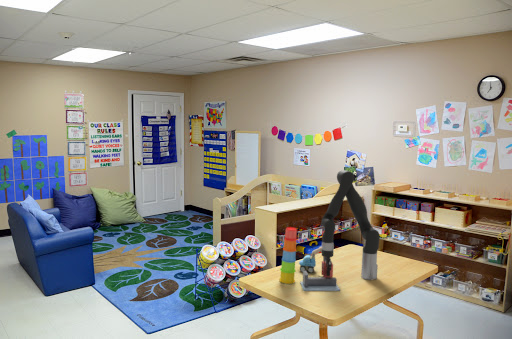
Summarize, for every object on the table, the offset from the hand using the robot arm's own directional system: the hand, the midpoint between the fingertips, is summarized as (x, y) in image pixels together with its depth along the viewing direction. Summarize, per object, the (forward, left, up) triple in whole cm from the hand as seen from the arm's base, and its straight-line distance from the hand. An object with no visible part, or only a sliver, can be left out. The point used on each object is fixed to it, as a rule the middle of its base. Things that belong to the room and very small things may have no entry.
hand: (327, 273), depth 258 cm
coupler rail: (+7, +13, -4) cm, 15 cm away
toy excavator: (+7, -15, -4) cm, 17 cm away
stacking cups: (+26, +4, -4) cm, 27 cm away
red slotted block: (0, 0, -2) cm, 2 cm away
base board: (+7, +13, -4) cm, 15 cm away
